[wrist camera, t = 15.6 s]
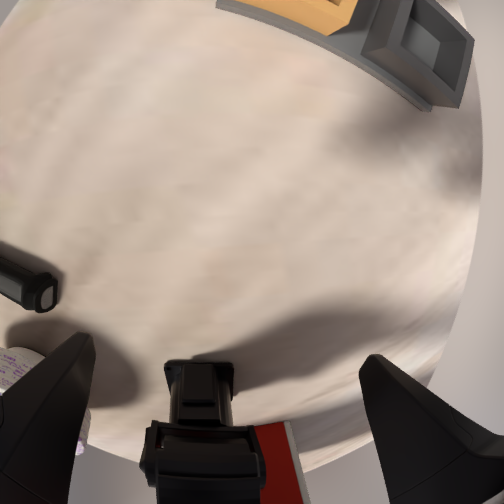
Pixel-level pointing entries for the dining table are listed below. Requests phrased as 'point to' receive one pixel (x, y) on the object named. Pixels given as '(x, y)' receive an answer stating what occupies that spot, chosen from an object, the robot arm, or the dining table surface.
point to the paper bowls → (18, 364)
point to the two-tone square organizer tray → (380, 41)
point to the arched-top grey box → (281, 466)
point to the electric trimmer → (28, 287)
